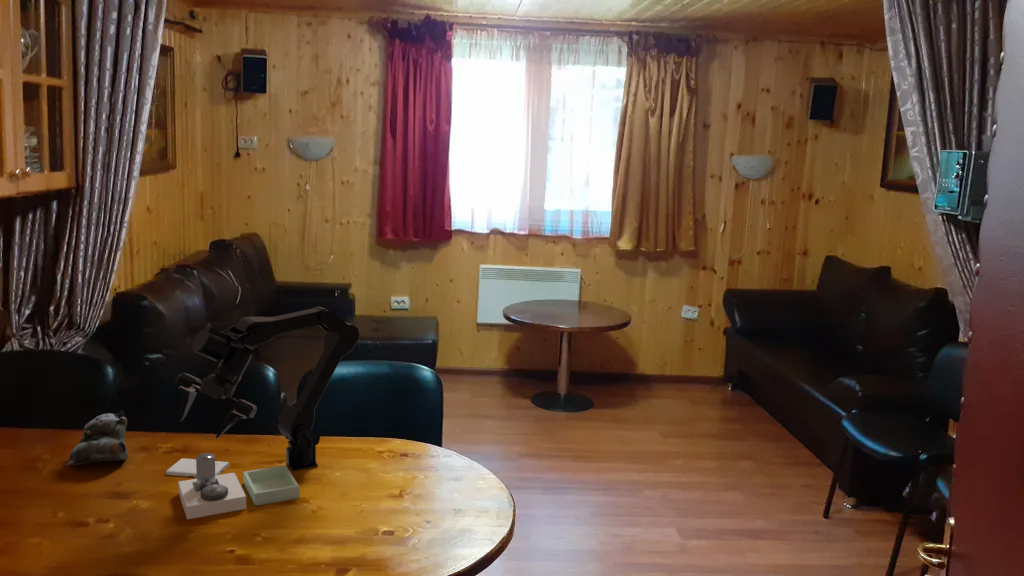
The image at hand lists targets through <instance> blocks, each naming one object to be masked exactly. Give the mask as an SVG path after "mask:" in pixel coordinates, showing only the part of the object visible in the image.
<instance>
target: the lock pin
mask: <svg viewBox="0 0 1024 576" xmlns="http://www.w3.org/2000/svg"><path fill="white" fill-rule="evenodd" d="M215 457H216V455H215V454H214V453H210V452H204V453H199V454H198V455H196V456H195V459H196V470H197V477H196V479H197V492H198V491H201V490H202V489H203V488H205V487H207V486H209V485H215V484H216V480H215V461H216V460H215V459H216V458H215Z"/></svg>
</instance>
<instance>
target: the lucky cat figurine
mask: <svg viewBox="0 0 1024 576" xmlns="http://www.w3.org/2000/svg"><path fill="white" fill-rule="evenodd" d="M127 427H128V419H127V417H125V412H124V410H120V411H119V412H117V413H110V412H109V413H103V414H100V415H96V416H95V418H92V420H90V421H89V422H87V423H86V424H85V425H84V428H83V434H82V436H81V438H80V441H79V443H78V444H77V445H75V447H73V449H72V450H71V451H70V453H69V456H68V459H69V461H68V462H67V463H66V466H70V467H74V466H77V465H82V464H89V463H97V462H113V461H114V462H115V461H117V462H125V461H126V460H128V450H127V448H126V441H125V435H126V431H127Z"/></svg>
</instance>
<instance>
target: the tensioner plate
mask: <svg viewBox="0 0 1024 576" xmlns="http://www.w3.org/2000/svg"><path fill="white" fill-rule="evenodd" d="M215 480H216V484H215V485H209V486H207V487H205V488H203V489H202V490H201V491H198V492H197V478H191V479H186V480H180V481H179V480H178V484H177V485H178V495H179V498H180V502H181V504H182V508H183V511H184V514H185V518H186V520H192V519H197V518H203V517H209V516H212V515H218V514H225V513H230V512H237V511H240V510H241V511H242V510H246V509H247V495H246V494H245V493H246V492H245V491H244V489H243V487H242V485H241V483H240V482H239V479H238V477H237V475H236V473H235V472H229V473H221V474H219V475H216V476H215Z"/></svg>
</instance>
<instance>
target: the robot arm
mask: <svg viewBox="0 0 1024 576" xmlns="http://www.w3.org/2000/svg"><path fill="white" fill-rule="evenodd" d="M316 326H319V327H320V328H321V329H322V330H324V331H325V332H326V333H325V334H324V335H325V336H324V339H323V341H324V342H323V350H322V353H321V355H320V357H319V359H318V361H317V363H316V365H315V367H314V368H313V370H312V372H311V374H310V376H309V378H308V380H307V382H306V383H305V386H304V387H303V389H302V392H301V393H300V394H299V397H298V399H297V400H296V401H295V402H294V403H293V404H291V405H290V404H289V403H286V404H285V405H284V406H283V410H282V412H281V413H280V415H279V416H278V417H277V419H279V420H278V423H277V426H278V430H279V431H280V433H281V434H282V435H284V437H285V439H286V440H288V443H287V447H286V448H285V453H286V454H285V457H286V462H285V463H286V464H287V465H288V467H289V468H290V469H291V470H292V471H298V470H299V471H300V470H304V469H305V470H306V469H311V468H317V467H318V466H319V463H318V462H317V458H316V457H317V456H316V455H317V451H316V449H317V445H319V442H320V439H321V435H319V434H318V433H317V432H315V431H314V430H313V427H314V423H315V413H316V411H315V410H316V408H317V406H318V404H319V402H320V400H321V398H322V396H323V394H324V392H325V391H326V388H327V386H328V385H329V383H330V381H331V379H332V377H333V376H334V373H335V372H336V369H337V367H338V365H339V363H340V361H341V360H342V358H343V357H345V356H346V355H348V354H349V353H351V352H352V350H353V349H354V347H355V346H356V345H357V343H358V342H359V339H360V336H361V334H360V332H359V329H358V327H357V326H356V325H354V324H351V323H349V322H346V321H344V320H342V319H341V318H340V317H338V316H336V314H334V313H332V311H330V310H329V309H327V308H326V307H325V308H324V307H322V306H314V307H313V308H308V309H303V310H299V311H294V312H290V313H285V314H280V315H276V316H244V317H242V318H240V319H239V320H238V322H237V323H236V324H234V325H233V326H231V327H229V328H227V329H225V330H223V331H221V330H218V328H216V327H214V326H212V325H210V324H207V325H206V327H205V328H204V329H203V330H201V331H200V332H199V333H198V334H197V335H196V336H195V337H194V338H193V342H192V346H191V347H192V348H191V349H192V351H193V353H196V354H198V355H201V356H203V357H205V358H208V359H210V360H212V361H214V362H218V361H220V360H221V361H220V363H219V364H218V366H216V368H215V369H214V371H213V372H212V373H210V374H209V375H207V376H205V377H204V378H203V380H202V379H200V378H198V377H196V376H193V375H192V374H189V373H185V372H181V373H179V374H178V376H177V377H176V379H175V380H174V381H173V382H174V384H176V385H177V386H178V390H179V391H181V397H182V398H181V408H180V412H179V414H180V415H179V419H178V420H179V421H180V422H183V421H184V419H185V418H186V416H187V414H188V412H189V410H190V408H191V406H192V405H193V402H194V400H195V399H196V397H197V394H198V393H197V392H196V391H198V392H200V393H201V394H204V395H206V396H208V397H209V398H210V397H211V398H212V399H214V400H217V401H219V402H220V403H224V404H226V405H228V406H230V407H232V408H234V409H233V411H232V410H230V411H229V414H228V415H227V418H226V419H225V421H224V422H223V423H222V425H221V427H220V429H219V430H218V432H217V434H216V436H215V438H216V439H219V438H220V437H221V436H222V435H223V434H224V433H226V432H227V430H229V429H230V427H232V426H233V425H234V424H236V423H237V422H239V420H241V419H244V420H245V419H247V418H250V419H251V418H255V415H256V413H257V411H258V408H257V405H255V404H253V403H252V402H249V401H247V400H245V399H238V400H237V399H235V398H233V397H232V396H233V395H234V393H235V391H236V387H237V386H238V383H239V382H241V379H242V376H243V374H244V373H245V370H246V368H247V366H248V365H249V363H250V361H251V358H252V357H255V358H256V359H259V360H261V359H262V355H261V353H260V347H258V346H260V345H262V344H264V343H267V342H269V341H271V340H273V339H274V338H276V336H278V335H283V334H285V333H289V332H294V331H298V330H299V331H300V330H303V329H307V328H312V327H316ZM233 342H235V343H236V344H233ZM248 344H249V345H251V346H249V345H248Z"/></svg>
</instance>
